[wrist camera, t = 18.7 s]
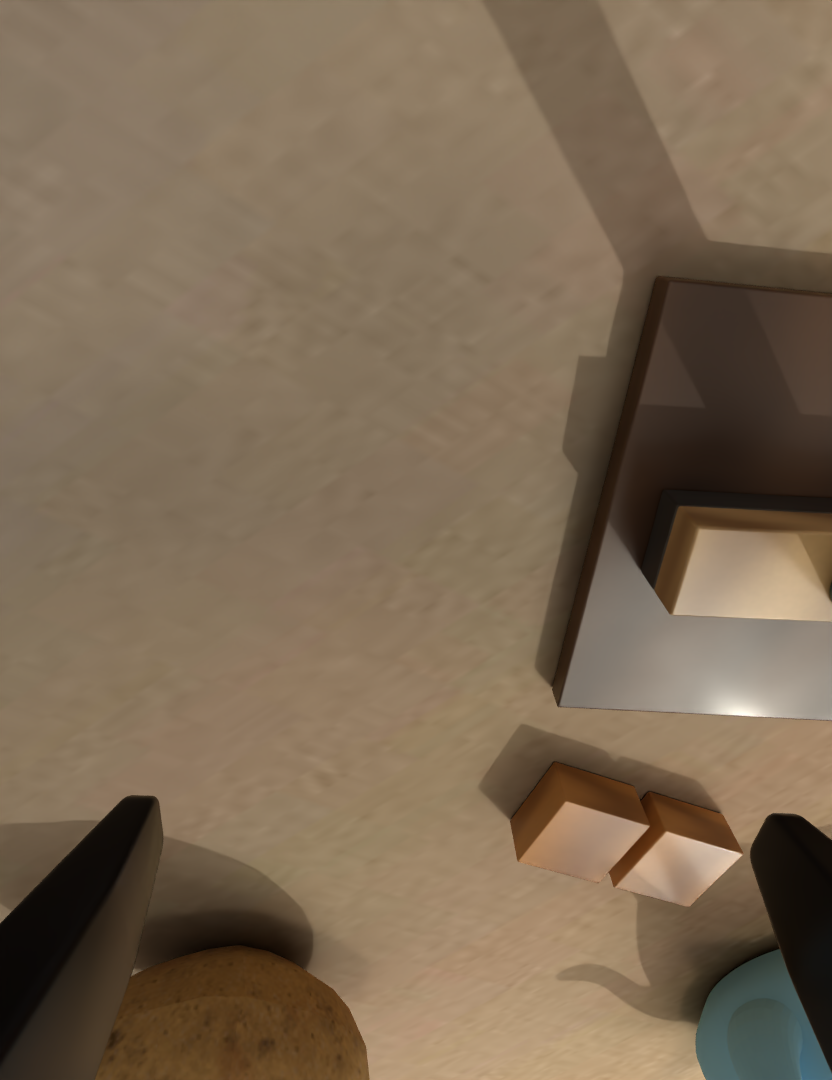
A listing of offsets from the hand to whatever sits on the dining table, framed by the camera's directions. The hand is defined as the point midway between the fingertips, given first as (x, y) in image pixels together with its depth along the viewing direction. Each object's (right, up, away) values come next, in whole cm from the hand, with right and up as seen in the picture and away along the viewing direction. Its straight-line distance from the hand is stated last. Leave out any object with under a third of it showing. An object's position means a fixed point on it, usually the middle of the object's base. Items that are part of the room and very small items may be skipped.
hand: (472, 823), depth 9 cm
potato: (-10, -18, +24) cm, 31 cm away
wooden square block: (+10, -9, +20) cm, 24 cm away
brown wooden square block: (+6, -7, +19) cm, 21 cm away
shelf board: (+12, +4, +12) cm, 18 cm away
